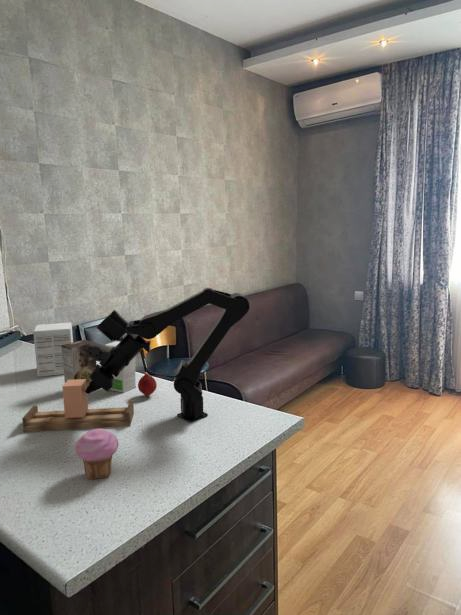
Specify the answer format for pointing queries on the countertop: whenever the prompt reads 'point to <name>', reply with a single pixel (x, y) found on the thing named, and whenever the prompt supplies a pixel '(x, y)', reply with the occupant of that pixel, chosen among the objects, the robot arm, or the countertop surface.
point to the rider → (75, 398)
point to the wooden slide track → (77, 419)
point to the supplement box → (51, 347)
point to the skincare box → (124, 374)
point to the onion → (147, 384)
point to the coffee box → (77, 361)
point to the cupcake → (97, 452)
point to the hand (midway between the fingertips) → (86, 392)
